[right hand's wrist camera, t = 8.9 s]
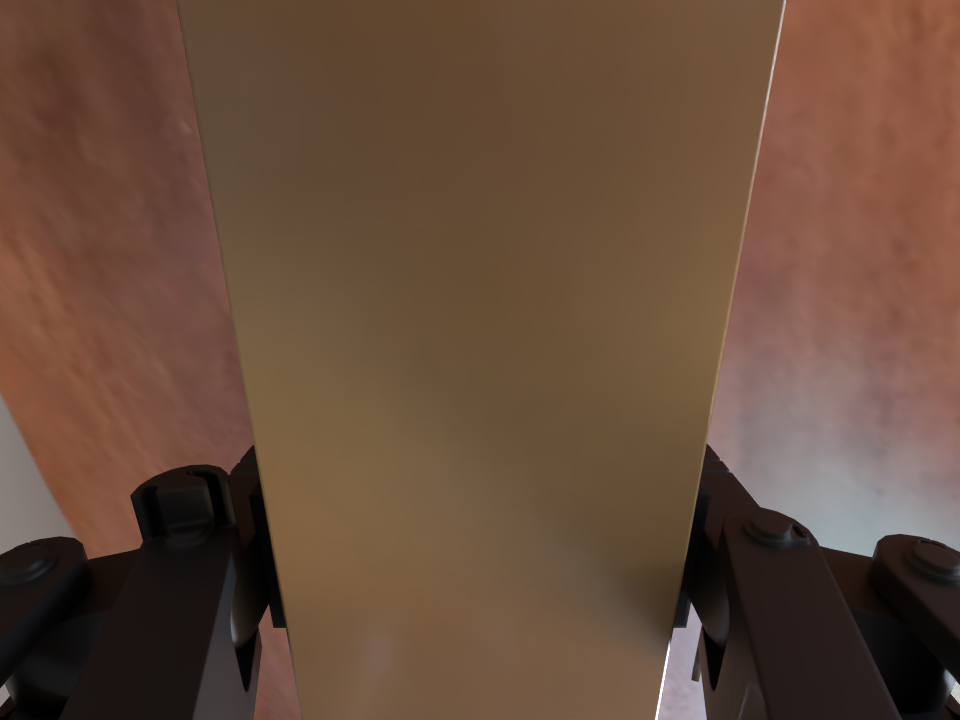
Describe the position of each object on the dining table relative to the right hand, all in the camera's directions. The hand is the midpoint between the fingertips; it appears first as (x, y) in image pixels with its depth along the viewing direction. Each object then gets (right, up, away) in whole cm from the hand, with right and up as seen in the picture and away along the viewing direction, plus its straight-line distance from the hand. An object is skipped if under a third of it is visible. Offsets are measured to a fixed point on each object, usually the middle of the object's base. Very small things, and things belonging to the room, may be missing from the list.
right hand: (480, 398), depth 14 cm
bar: (0, +7, -2) cm, 7 cm away
